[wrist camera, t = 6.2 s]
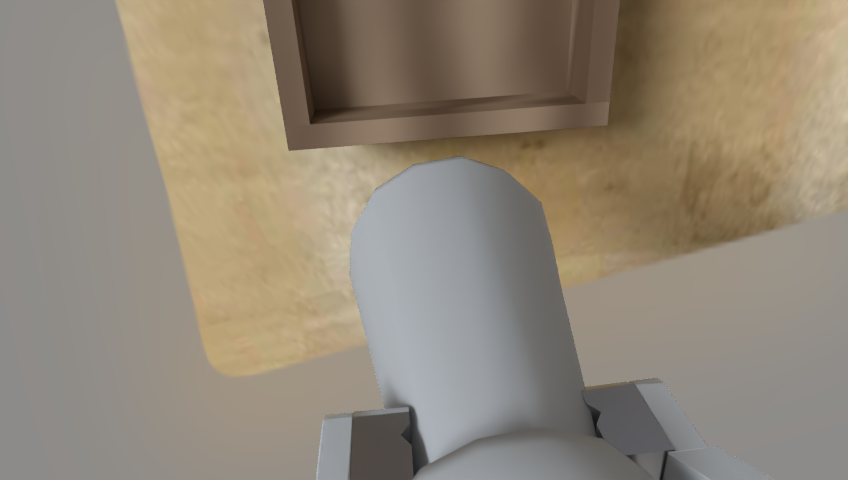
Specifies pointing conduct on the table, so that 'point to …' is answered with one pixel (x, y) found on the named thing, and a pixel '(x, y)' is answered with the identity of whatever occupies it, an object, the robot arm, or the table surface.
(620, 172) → the table surface
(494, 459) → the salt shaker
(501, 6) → the open wooden tray
